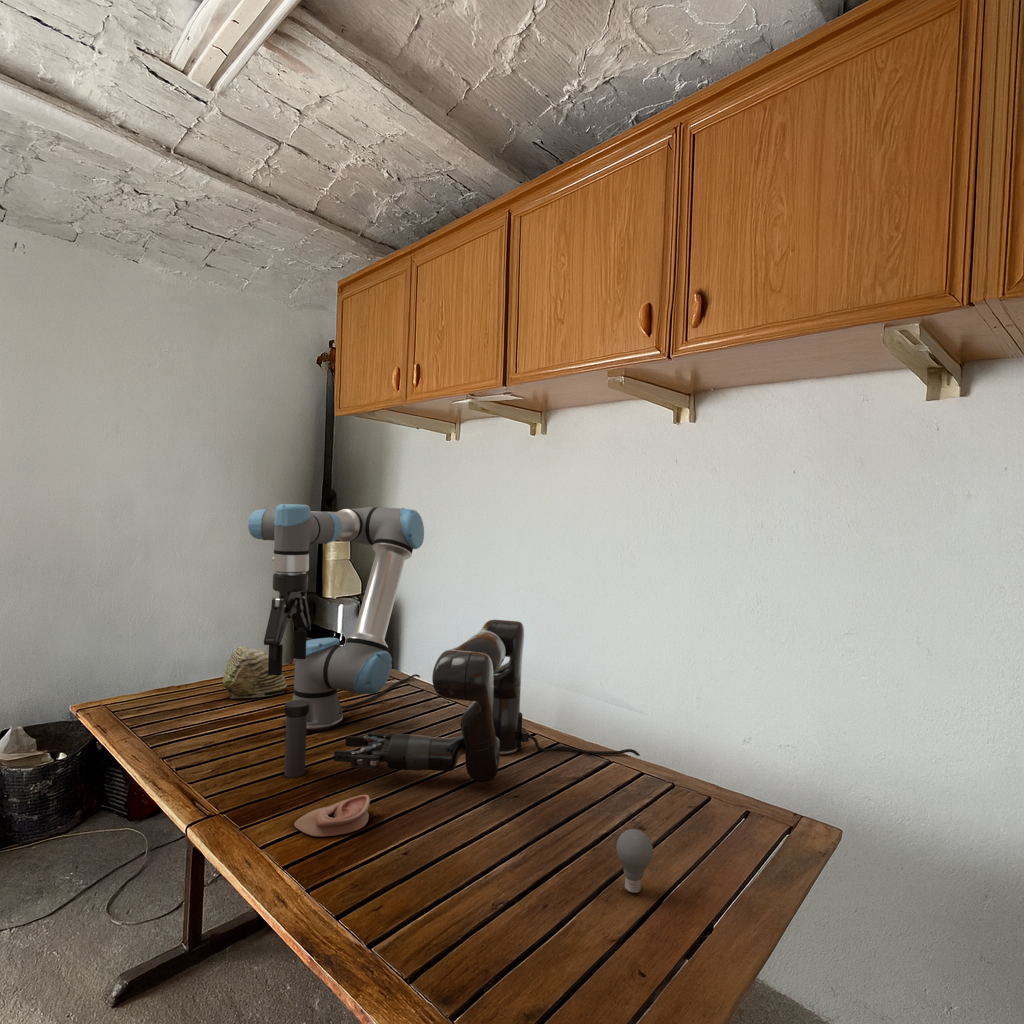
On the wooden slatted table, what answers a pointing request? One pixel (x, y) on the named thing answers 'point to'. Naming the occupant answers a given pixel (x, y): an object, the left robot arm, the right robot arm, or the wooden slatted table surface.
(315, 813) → the anatomical model
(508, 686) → the right robot arm
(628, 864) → the light bulb
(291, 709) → the lid
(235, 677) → the fossil
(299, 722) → the dark grey cylinder
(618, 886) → the wooden slatted table surface
